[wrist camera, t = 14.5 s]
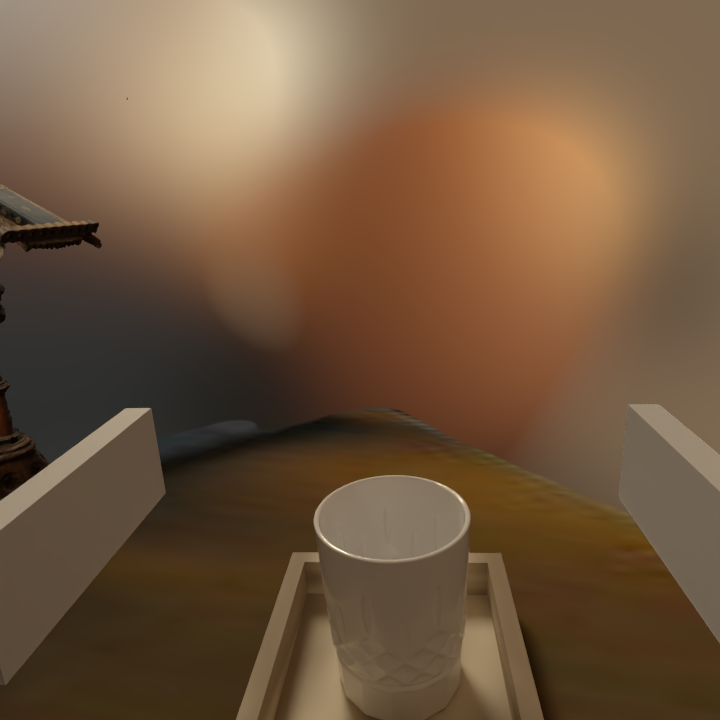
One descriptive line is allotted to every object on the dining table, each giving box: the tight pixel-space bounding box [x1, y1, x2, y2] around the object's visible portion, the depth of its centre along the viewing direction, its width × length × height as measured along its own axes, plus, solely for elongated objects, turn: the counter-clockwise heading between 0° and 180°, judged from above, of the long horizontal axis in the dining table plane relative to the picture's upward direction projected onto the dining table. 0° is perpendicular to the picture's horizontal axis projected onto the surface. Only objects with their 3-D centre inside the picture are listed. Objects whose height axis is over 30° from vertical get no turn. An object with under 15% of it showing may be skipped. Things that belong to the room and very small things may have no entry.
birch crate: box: [236, 553, 544, 720], centre depth 29 cm, size 14×14×4 cm
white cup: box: [314, 475, 471, 720], centre depth 28 cm, size 8×8×10 cm
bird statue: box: [0, 184, 101, 499], centre depth 39 cm, size 17×13×35 cm
